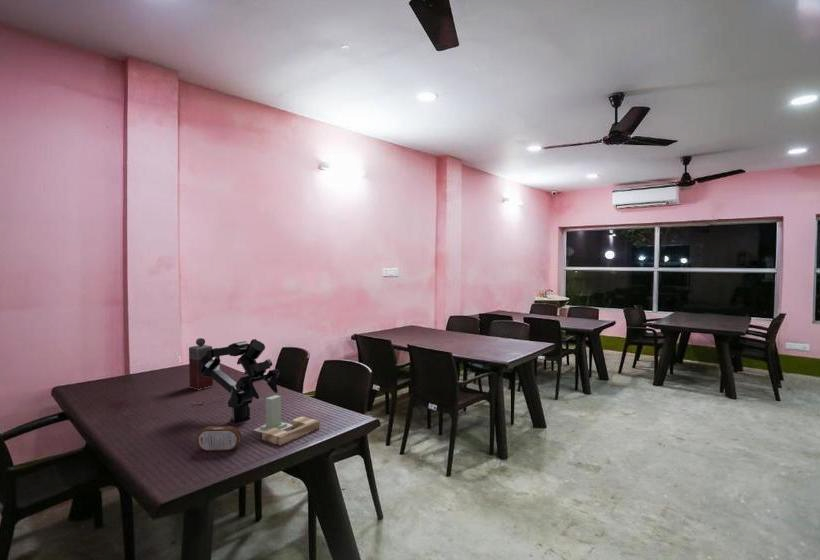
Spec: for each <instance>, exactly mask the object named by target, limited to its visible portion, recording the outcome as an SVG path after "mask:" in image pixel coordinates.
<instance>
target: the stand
mask: <svg viewBox="0 0 820 560" xmlns="http://www.w3.org/2000/svg"><path fill="white" fill-rule="evenodd" d="M291 425H292V427H291V428H293V429H290V430H288V431H286V430H280V429H277V428H270V429H268V430H265V431H263V432H262V433H261V439H262V441H265V442H269V443H272V444H275V445H277V444H278V446H283V445H285V444H287V443H290V442H292V441H294V440H296V439H298V438H300V436H301V437H303V436H305V435H308V434H310V433H311V431H312V432H314V431H316V430H318V428H319V427H321V426H320V425H321V424H320V420H318V419H314V418H310V417H305V416H299V417H296V418H294V419H292V420H291ZM315 429H316V430H315ZM319 429H320V428H319ZM313 430H314V431H313ZM309 432H310V433H309ZM304 434H305V435H304ZM302 435H303V436H302ZM293 439H294V440H293ZM291 440H292V441H291ZM282 444H283V445H282Z"/></svg>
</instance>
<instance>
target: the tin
mask: <svg viewBox="0 0 820 560" xmlns="http://www.w3.org/2000/svg"><path fill="white" fill-rule="evenodd" d="M196 437H197V438H196V439H197V440H196V442H197V445H198V447H199V448H200V449H202V450H203V451H207V452H220V451H221V452H222V451H223V452H228V450H229V451H232V450H234V449H236V448H237V447H238V446H239V445H240V443H241V441H242V433H241V431H240V430H239V429H238V428H237V427H235V426H232V425H219V426H218V425H217V426H215V425H211V426H210V425H208V426H206V427H203V429H201V431H200V432H199V433H198V434H197V436H196Z"/></svg>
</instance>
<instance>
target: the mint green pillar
mask: <svg viewBox="0 0 820 560" xmlns="http://www.w3.org/2000/svg"><path fill="white" fill-rule="evenodd" d="M286 426H287V422H284V423H283V421H282V396H281V395H276V394H274V395H271V396H268V397H265V424H263V425H261V426H259V428H260V429H262V430H268V429H270V428H277V429H281V428H284V427H286Z"/></svg>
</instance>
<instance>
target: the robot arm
mask: <svg viewBox="0 0 820 560" xmlns="http://www.w3.org/2000/svg"><path fill="white" fill-rule="evenodd" d="M265 350H266V345H265V344H264V342H261V341H259V340H257V338H253V339H251V340H250V342H249V343H248V341H247V340H244V341H239V342H238V341H237V342H234V343H231V344H228V346H224V347H215V348H212V349H209V350H208V351H207V353H206V355H205V356H204V357H203V358H202V359H201V360H200V362H199V364H198V366H197V370H198V372H199V373H200V374H201V375H203V376H205V377H211V378H212V379H213V381H215V383H217V384H218V385H219V386H220V387H222V388H223V389H224V390H226V391H227V392H228V393H229V396H230V398H229V400H228V401H227V405H228V406H227V407H228V408H231V417H230V419H231V420H232V421H233V422H234V423H238V422H242V421H246V420H250V419H251V408H250V406H249V404H252V403H253V399H257V400H259V399H260V396H259V393H258V392H257V390H256V388H255V386H254V383H257V382H261V381H264V380H265V382H266V384H267V386H269V388H270V390H271V391H272V392H274V393H275V394H278V391H279V390H278V387H277V378H278V377H279V375H280V374H281V372H280V370H279V369H278V368H275V369H271V367H272V366H273V362H272V360H271V359H265V360H263V361H261V362H257V359H258V358H260V356H261V355H262V353H264V351H265ZM221 356H222V357H223V356H230V357H237V362H236V365H241V367H242V368H243V370H244V372H243V373H244V375H245V376H242V377H241V376H240V378H239V379H238V380H237V382H236V381H235V380H234V379H232V377H231V376H229V375H228V374H226V373H225V372H224V371H223V370H221V365H220V363H221V359H220V358H221ZM239 356H240V357H239ZM211 358H214V359H213V360H211ZM269 369H271V370H269ZM267 370H269V371H267ZM266 372H267V373H266Z"/></svg>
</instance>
